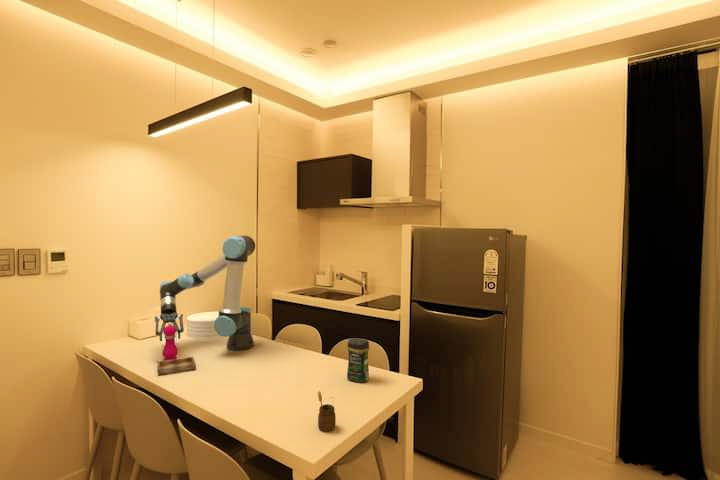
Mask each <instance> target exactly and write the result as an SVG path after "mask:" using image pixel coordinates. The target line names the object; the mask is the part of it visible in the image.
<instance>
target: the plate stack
mask: <svg viewBox="0 0 720 480" xmlns="http://www.w3.org/2000/svg"><path fill="white" fill-rule="evenodd" d="M218 316H219V311H207V312H205V311H204V312H199V313H198V312H197V313H193V314H191V315H188V316H187V317H186V337H187V338H188V339H192V340H213V339H219V338H223V336H220V335H219V334H217V332H216V331H215V329H214V321H215V320H216V318H217V317H218Z"/></svg>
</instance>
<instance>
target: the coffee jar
mask: <svg viewBox="0 0 720 480" xmlns="http://www.w3.org/2000/svg"><path fill="white" fill-rule="evenodd" d="M346 349H347V353H348V362H347V363H348V365H347V374H346V378H347V380H348V381H351V382H355V383H365V382H367V381H368V380H369V378H370V373H369V372H370V369H369V356H368V355H369V350H370V342H369V340H368V339H362V338H356V337H352V338H349V340H348V341H347V348H346Z"/></svg>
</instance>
